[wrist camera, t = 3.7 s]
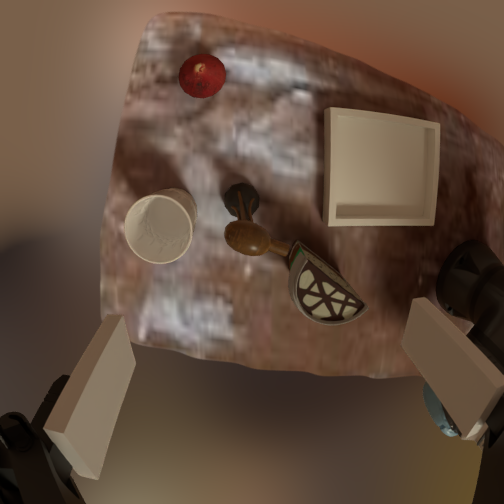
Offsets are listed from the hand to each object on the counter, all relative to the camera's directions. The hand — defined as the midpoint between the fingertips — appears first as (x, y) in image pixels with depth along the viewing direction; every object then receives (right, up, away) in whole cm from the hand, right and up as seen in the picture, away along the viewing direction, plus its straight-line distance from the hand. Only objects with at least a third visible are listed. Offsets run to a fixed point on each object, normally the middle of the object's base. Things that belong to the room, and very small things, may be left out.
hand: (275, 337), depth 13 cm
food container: (+7, +1, +33) cm, 34 cm away
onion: (-7, +26, +23) cm, 36 cm away
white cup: (-12, +9, +29) cm, 33 cm away
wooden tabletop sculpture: (-2, +11, +29) cm, 31 cm away
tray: (+18, +16, +28) cm, 37 cm away
